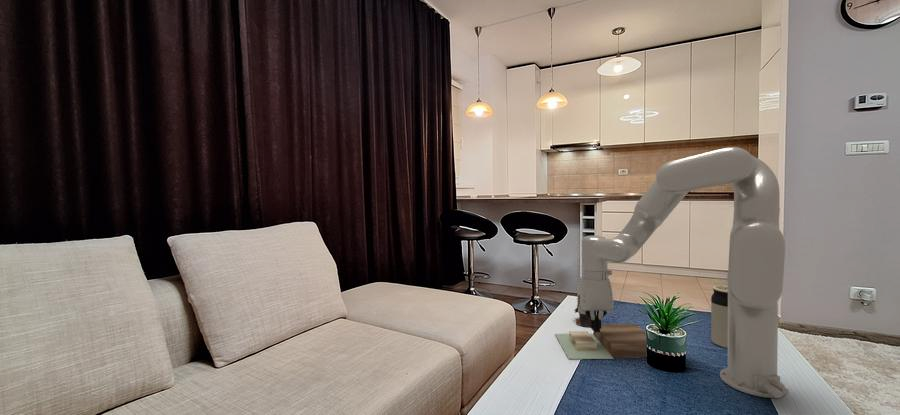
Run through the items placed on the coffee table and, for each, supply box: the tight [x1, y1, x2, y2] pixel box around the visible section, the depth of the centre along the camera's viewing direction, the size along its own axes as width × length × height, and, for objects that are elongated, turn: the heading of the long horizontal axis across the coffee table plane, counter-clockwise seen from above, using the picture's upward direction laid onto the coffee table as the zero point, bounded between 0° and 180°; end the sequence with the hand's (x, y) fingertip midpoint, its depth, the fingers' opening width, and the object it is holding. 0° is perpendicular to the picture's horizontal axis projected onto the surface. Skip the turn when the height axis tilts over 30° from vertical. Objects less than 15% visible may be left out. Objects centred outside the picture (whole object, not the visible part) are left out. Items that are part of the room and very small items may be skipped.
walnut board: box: [593, 323, 647, 359], centre depth 112 cm, size 16×14×4 cm
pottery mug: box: [574, 304, 603, 328], centre depth 131 cm, size 12×10×8 cm
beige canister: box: [710, 284, 728, 349], centre depth 110 cm, size 8×8×18 cm
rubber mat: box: [554, 332, 615, 361], centre depth 113 cm, size 18×13×1 cm
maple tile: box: [568, 330, 597, 351], centre depth 113 cm, size 9×6×2 cm, turn 175°
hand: (595, 330), depth 112 cm, fingers closed
